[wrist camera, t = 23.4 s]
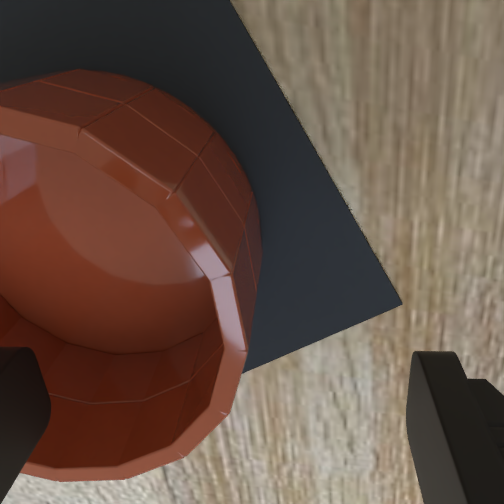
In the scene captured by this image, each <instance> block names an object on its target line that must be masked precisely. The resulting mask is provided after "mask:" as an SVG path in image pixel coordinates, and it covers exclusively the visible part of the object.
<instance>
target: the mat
mask: <svg viewBox="0 0 504 504" xmlns="http://www.w3.org/2000/svg"><path fill="white" fill-rule="evenodd" d="M72 69H85V70H95V71H104V72H109V73H115V74H120V75H124V76H127V77H130V78H133V79H136V80H139V81H142V82H145V83H148V84H150V85H152V86H154V87H156V88H158V89H160V90H162V91H164V92H167V93H169V94H170V95H172V96H173V97H175V98H176V99H178V100H179V101H181V102H182V103H184V104H186V105H187V106H189V107H190V108H191V109H192V110H193V111H195V112H196V113H197V114H198V115H199V116H201V117H202V118H203V119H204V120H205V121H207V122H208V123H209V124H210V126H211V127H212V128H213V129H214V130H215V131H216V132H217V133H218V134H219V135H220V136H221V137H222V138H223V140H224V141H225V142H226V144H227V145H228V146H229V148H230V149H231V151H232V152H233V153H234V155H235V156H236V158H237V159H238V161H239V163H240V165H241V167H242V169H243V170H244V172H245V174H246V176H247V178H248V181H249V183H250V186H251V188H252V191H253V194H254V196H255V200H256V204H257V208H258V213H259V218H260V228H261V244H262V250H263V253H262V261H261V268H260V274H259V281H258V288H257V294H256V302H255V309H254V315H253V322H252V329H251V336H250V343H249V349H248V354H247V357H246V361H245V364H244V368H243V371H242V373H245V372H247V371H249V370H252V369H254V368H256V367H259V366H261V365H263V364H265V363H268V362H270V361H272V360H275V359H277V358H279V357H282V356H284V355H286V354H289V353H291V352H293V351H296V350H298V349H300V348H303V347H305V346H307V345H310V344H312V343H314V342H317V341H319V340H321V339H324V338H326V337H328V336H330V335H333V334H335V333H337V332H340V331H342V330H344V329H347V328H349V327H351V326H354V325H356V324H358V323H361V322H363V321H365V320H368V319H370V318H372V317H375V316H377V315H379V314H382V313H384V312H386V311H389V310H391V309H393V308H396V307H398V306H400V305H402V302H401V300H400V298H399V296H398V295H397V293H396V291H395V289H394V288H393V286H392V284H391V282H390V281H389V279H388V277H387V275H386V274H385V272H384V270H383V268H382V267H381V265H380V263H379V261H378V260H377V258H376V256H375V254H374V253H373V251H372V249H371V247H370V246H369V244H368V242H367V240H366V239H365V237H364V235H363V233H362V232H361V230H360V228H359V226H358V225H357V223H356V221H355V219H354V218H353V216H352V214H351V212H350V211H349V209H348V207H347V205H346V204H345V202H344V200H343V198H342V197H341V195H340V193H339V191H338V190H337V188H336V186H335V184H334V183H333V181H332V179H331V177H330V176H329V174H328V172H327V170H326V169H325V167H324V165H323V163H322V162H321V160H320V158H319V156H318V155H317V153H316V151H315V149H314V147H313V146H312V144H311V142H310V140H309V139H308V137H307V135H306V133H305V132H304V130H303V128H302V126H301V125H300V123H299V121H298V119H297V118H296V116H295V114H294V112H293V111H292V109H291V107H290V105H289V104H288V102H287V100H286V98H285V97H284V95H283V93H282V91H281V90H280V88H279V86H278V84H277V83H276V81H275V79H274V77H273V76H272V74H271V72H270V70H269V69H268V67H267V65H266V63H265V62H264V60H263V58H262V56H261V55H260V53H259V51H258V49H257V48H256V46H255V44H254V42H253V41H252V39H251V37H250V35H249V34H248V32H247V30H246V28H245V27H244V25H243V23H242V21H241V20H240V18H239V16H238V14H237V13H236V11H235V9H234V7H233V6H232V4H231V2H230V0H0V83H3V82H6V81H10V80H15V79H20V78H26V77H32V76H38V75H44V74H48V73H52V72H57V71H67V70H72Z"/></svg>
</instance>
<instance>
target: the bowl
mask: <svg viewBox="0 0 504 504" xmlns="http://www.w3.org/2000/svg"><path fill="white" fill-rule="evenodd" d="M262 253H263V250H262V244H261V228H260V218H259V213H258V208H257V204H256V200H255V196H254V194H253V191H252V188H251V186H250V183H249V181H248V178H247V176H246V174H245V172H244V170H243V169H242V167H241V165H240V163H239V161H238V159H237V158H236V156H235V155H234V153H233V152H232V151H231V149H230V148H229V146H228V145H227V144H226V142H225V141H224V140H223V138H222V137H221V136H220V135H219V134H218V133H217V132H216V131H215V130H214V129H213V128H212V127H211V126H210V124H209V123H208V122H207V121H205V120H204V119H203V118H202V117H201V116H199V115H198V114H197V113H196V112H195V111H193V110H192V109H191V108H190V107H189V106H187V105H186V104H184V103H182V102H181V101H179V100H178V99H176V98H175V97H173V96H172V95H170V94H169V93H167V92H164V91H162V90H160V89H158V88H156V87H154V86H152V85H150V84H148V83H145V82H142V81H139V80H136V79H133V78H130V77H127V76H124V75H120V74H115V73H109V72H104V71H95V70H85V69H72V70H67V71H57V72H52V73H48V74H44V75H38V76H32V77H26V78H20V79H15V80H10V81H6V82H3V83H0V347H29V348H31V349H32V350H33V351H34V353H35V355H36V358H37V361H38V364H39V367H40V370H41V373H42V376H43V379H44V382H45V385H46V388H47V391H48V393H49V396H50V400H51V416H50V421H49V424H48V426H47V428H46V430H45V432H44V434H43V435H42V437H41V439H40V440H39V442H38V443H37V445H36V447H35V448H34V450H33V452H32V453H31V455H30V457H29V458H28V460H27V462H26V463H25V465H24V466H23V468H22V470H21V471H20V473H22V474H27V475H31V476H35V477H40V478H44V479H48V480H52V481H59V482H72V481H102V480H125V479H129V478H132V477H134V476H137V475H140V474H142V473H145V472H148V471H150V470H153V469H156V468H158V467H161V466H164V465H166V464H169V463H172V462H174V461H177V460H180V459H182V458H184V457H185V456H187V455H188V454H189V453H190V452H191V451H192V450H193V449H194V448H195V447H196V446H197V445H198V444H199V443H200V442H201V441H202V440H203V439H204V438H205V437H206V436H207V435H208V434H209V433H211V432H212V431H213V430H214V429H215V428H216V427H217V426H218V425H219V424H220V423H221V422H222V421H223V420H224V419H225V418H226V417H227V416H228V414H229V413H230V411H231V408H232V405H233V401H234V398H235V395H236V391H237V388H238V384H239V381H240V378H241V374H242V371H243V368H244V364H245V361H246V357H247V354H248V349H249V343H250V336H251V329H252V322H253V315H254V309H255V302H256V294H257V288H258V281H259V274H260V268H261V261H262Z"/></svg>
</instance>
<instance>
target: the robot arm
mask: <svg viewBox="0 0 504 504" xmlns="http://www.w3.org/2000/svg"><path fill="white" fill-rule="evenodd" d="M50 416H51V400H50V396H49V393H48V391H47V388H46V385H45V382H44V379H43V376H42V373H41V370H40V367H39V364H38V361H37V358H36V355H35V353H34V351H33V350H32V349H31V348H29V347H0V504H1V503H2V501H3V499H4V498H5V496H6V494H7V493H8V491H9V489H10V488H11V486H12V485H13V483H14V481H15V480H16V478H17V476H18V475H19V473H20V471H21V470H22V468H23V466H24V465H25V463H26V462H27V460H28V458H29V457H30V455H31V453H32V452H33V450H34V448H35V447H36V445H37V443H38V442H39V440H40V439H41V437H42V435H43V434H44V432H45V430H46V428H47V426H48V424H49V421H50ZM406 426H407V434H408V440H409V445H410V449H411V453H412V457H413V461H414V465H415V469H416V473H417V477H418V481H419V485H420V489H421V494H422V498H423V502H424V504H504V395H502V394H501V393H500V392H499V391H498V390H497V389H496V388H495V387H494V386H493V385H492V384H490V383H489V382H488V381H487V380H486V379H467V377H466V374H465V372H464V370H463V368H462V365H461V363H460V361H459V359H458V357H457V355H456V353H455V352H452V351H414V352H413V355H412V360H411V369H410V378H409V387H408V396H407V405H406Z"/></svg>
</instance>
